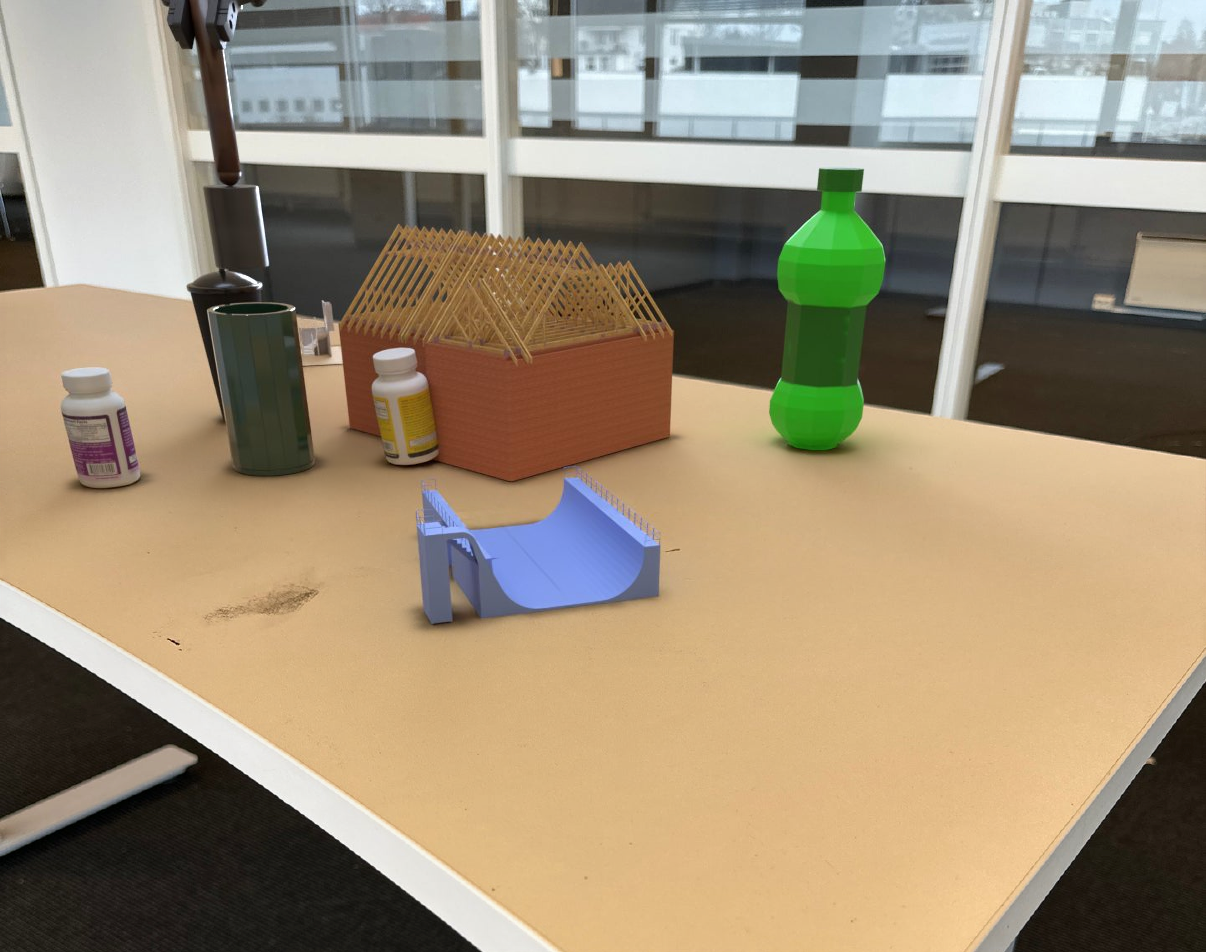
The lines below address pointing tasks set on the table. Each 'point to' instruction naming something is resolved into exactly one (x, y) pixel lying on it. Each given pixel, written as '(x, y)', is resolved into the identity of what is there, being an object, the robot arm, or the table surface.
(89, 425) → the pill bottle
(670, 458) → the table surface
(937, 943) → the table surface
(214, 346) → the green utensil holder
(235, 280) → the drinking cup
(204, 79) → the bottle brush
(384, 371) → the supplement bottle
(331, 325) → the architectural model
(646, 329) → the house
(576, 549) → the half pipe
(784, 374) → the plastic bottle
